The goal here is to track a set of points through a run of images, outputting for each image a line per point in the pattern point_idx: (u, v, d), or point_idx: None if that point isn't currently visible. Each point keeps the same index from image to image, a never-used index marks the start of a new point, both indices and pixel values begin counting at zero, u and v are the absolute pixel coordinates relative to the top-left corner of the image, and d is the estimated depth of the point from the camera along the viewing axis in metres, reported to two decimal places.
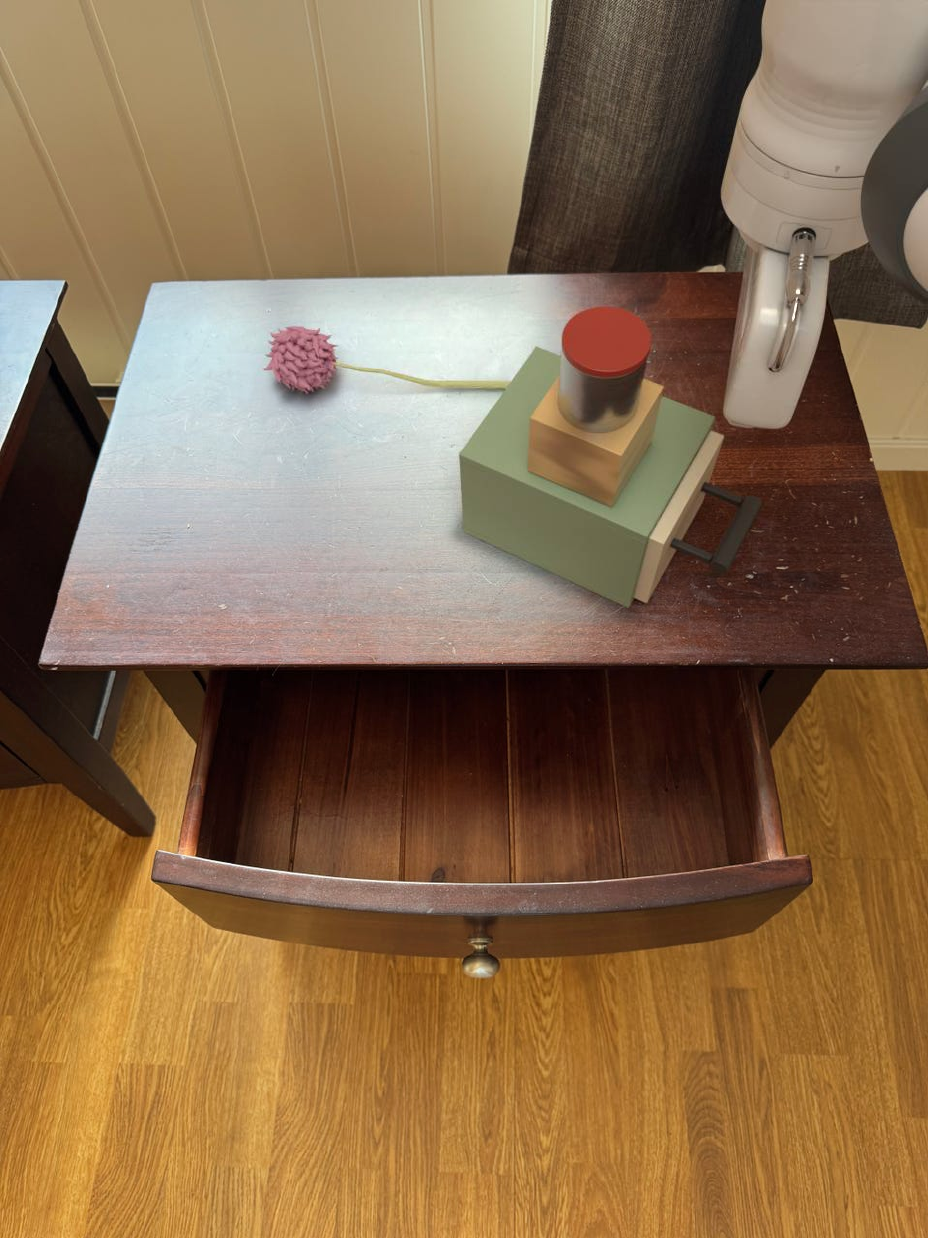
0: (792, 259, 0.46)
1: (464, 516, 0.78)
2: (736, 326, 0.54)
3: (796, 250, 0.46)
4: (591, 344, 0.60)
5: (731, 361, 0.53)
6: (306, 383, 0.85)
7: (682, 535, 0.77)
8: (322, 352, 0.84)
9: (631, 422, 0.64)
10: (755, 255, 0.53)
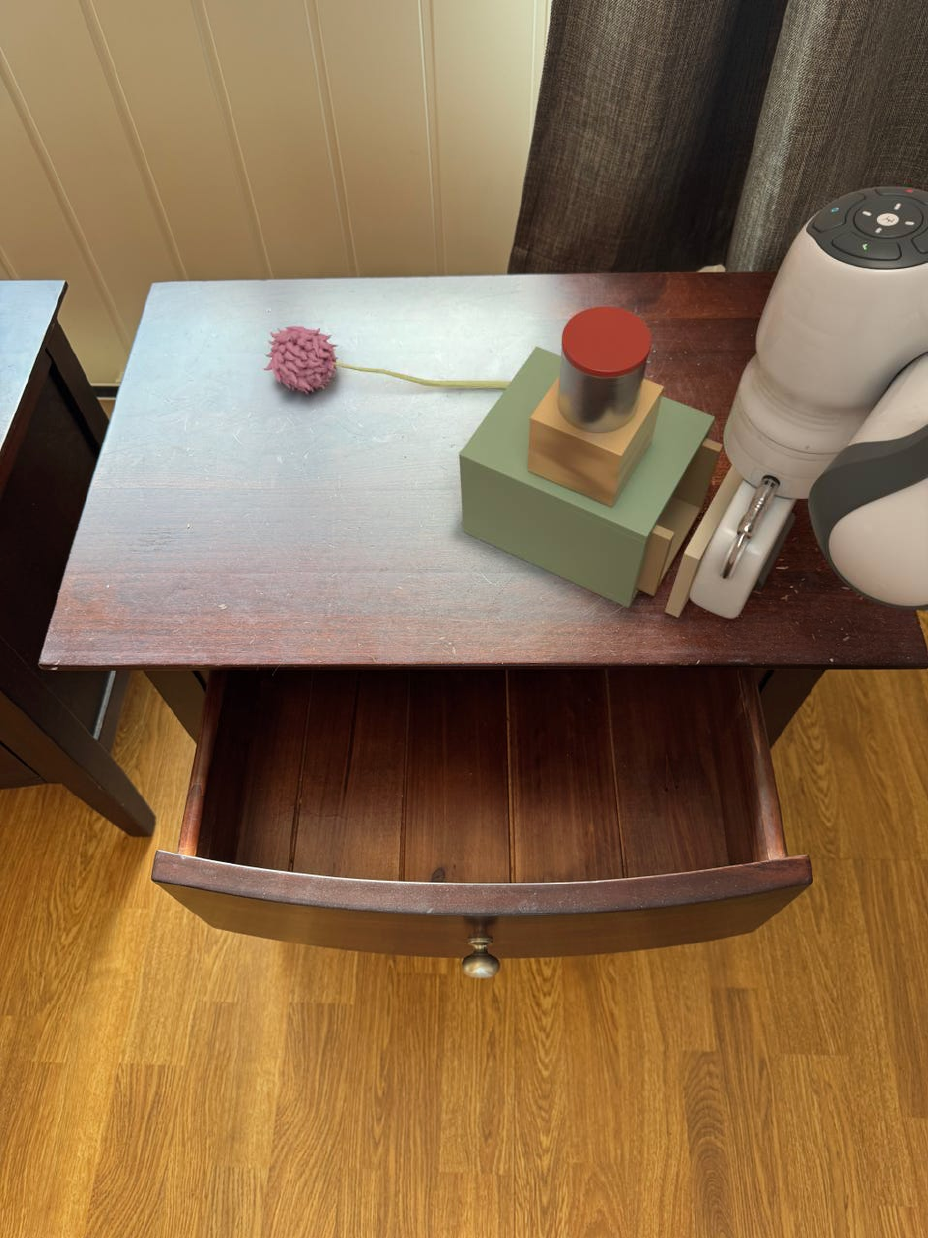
0: (752, 499, 0.58)
1: (464, 516, 0.78)
2: None
3: (758, 493, 0.58)
4: (591, 344, 0.60)
5: None
6: (306, 383, 0.85)
7: None
8: (322, 352, 0.84)
9: (631, 422, 0.64)
10: None
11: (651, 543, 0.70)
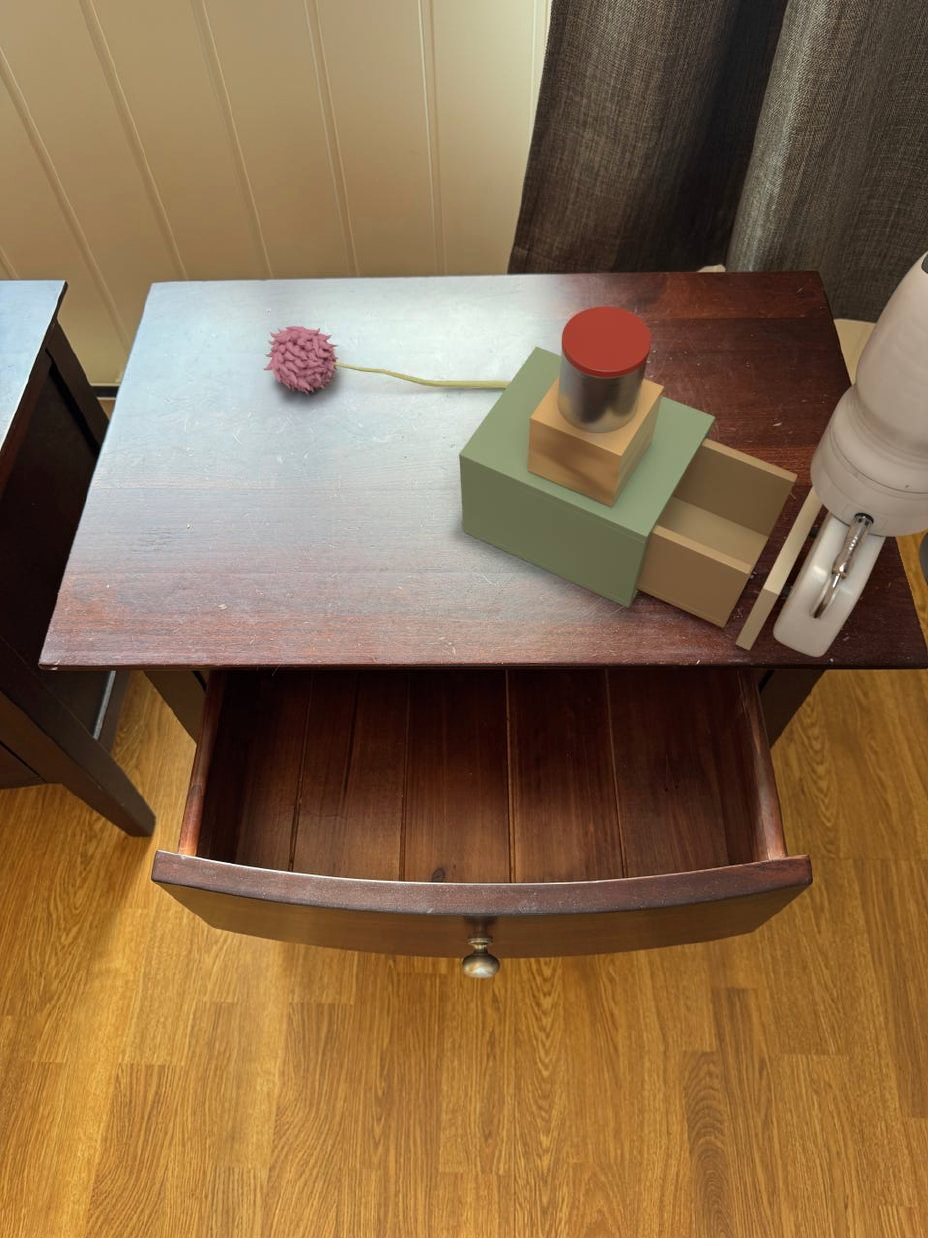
0: (846, 538, 0.56)
1: (464, 516, 0.78)
2: (806, 558, 0.65)
3: (852, 531, 0.56)
4: (591, 344, 0.60)
5: (791, 589, 0.63)
6: (306, 383, 0.85)
7: None
8: (322, 352, 0.84)
9: (631, 422, 0.64)
10: None
11: (727, 576, 0.68)
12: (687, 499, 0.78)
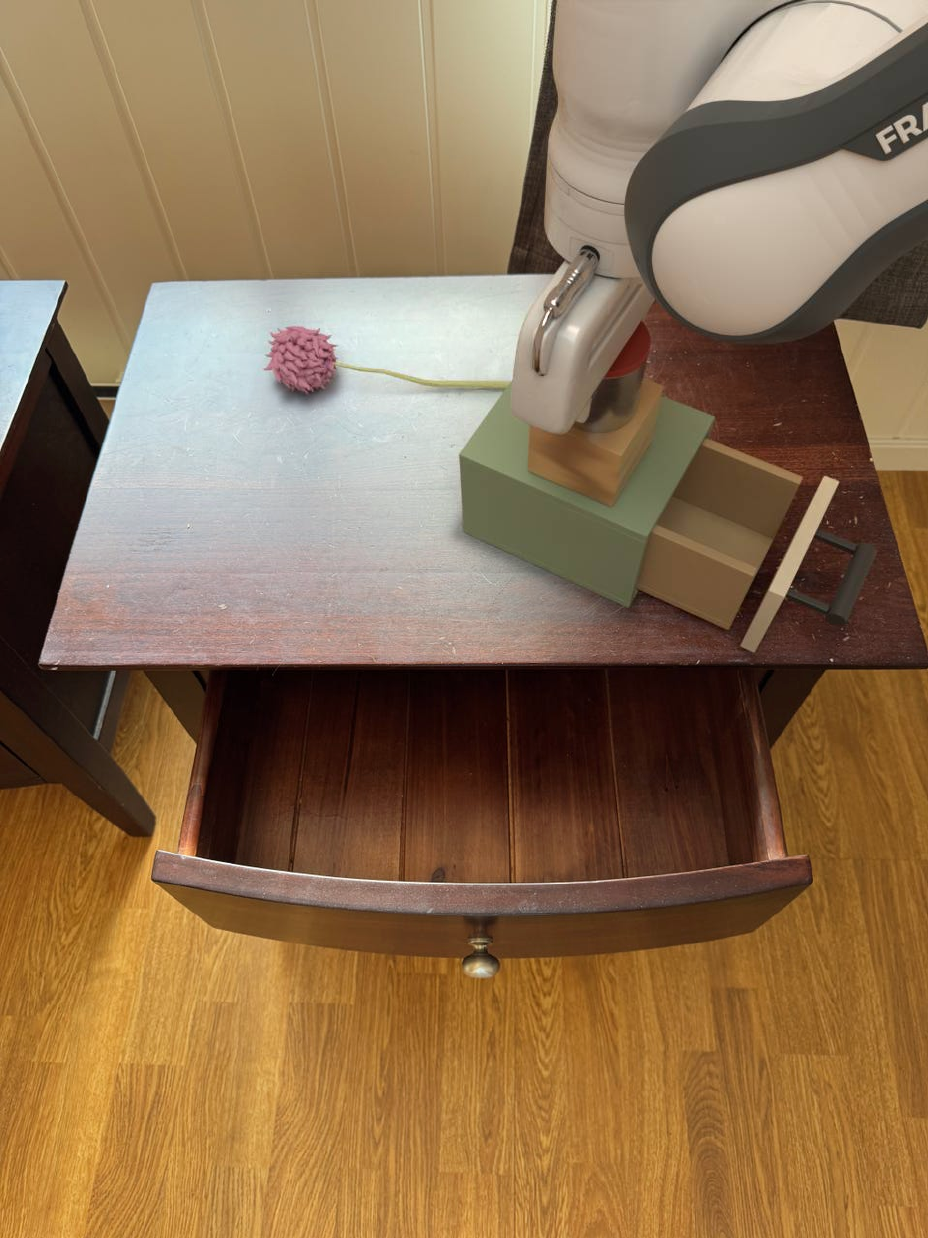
0: (565, 272, 0.49)
1: (464, 516, 0.78)
2: None
3: (572, 264, 0.49)
4: None
5: None
6: (306, 383, 0.85)
7: None
8: (322, 352, 0.84)
9: (631, 422, 0.64)
10: None
11: (732, 578, 0.68)
12: (692, 501, 0.78)
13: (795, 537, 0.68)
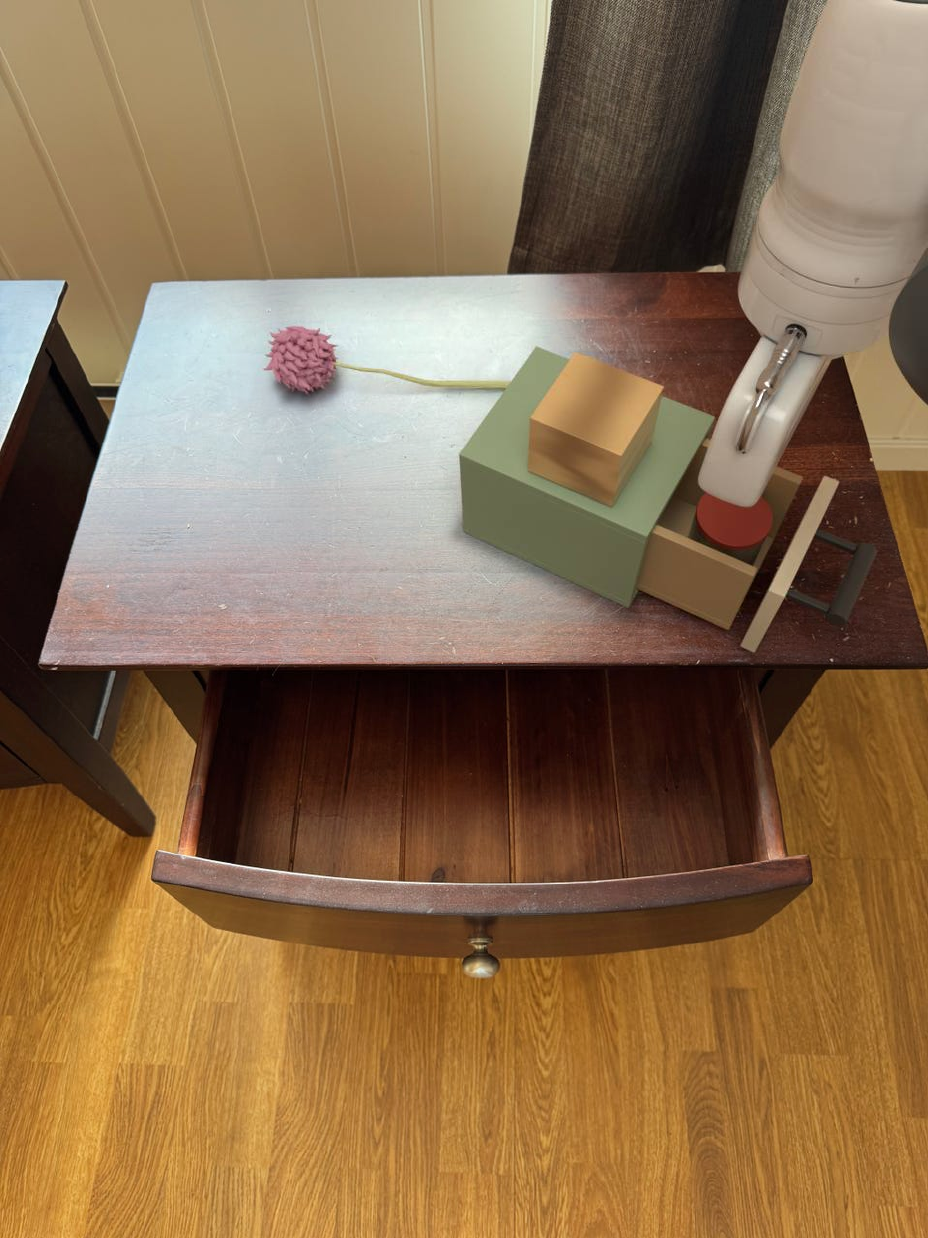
0: (774, 351, 0.48)
1: (464, 516, 0.78)
2: None
3: (781, 344, 0.48)
4: (722, 520, 0.71)
5: None
6: (306, 383, 0.85)
7: None
8: (322, 352, 0.84)
9: (631, 422, 0.64)
10: None
11: (732, 578, 0.68)
12: (692, 501, 0.78)
13: (795, 537, 0.68)
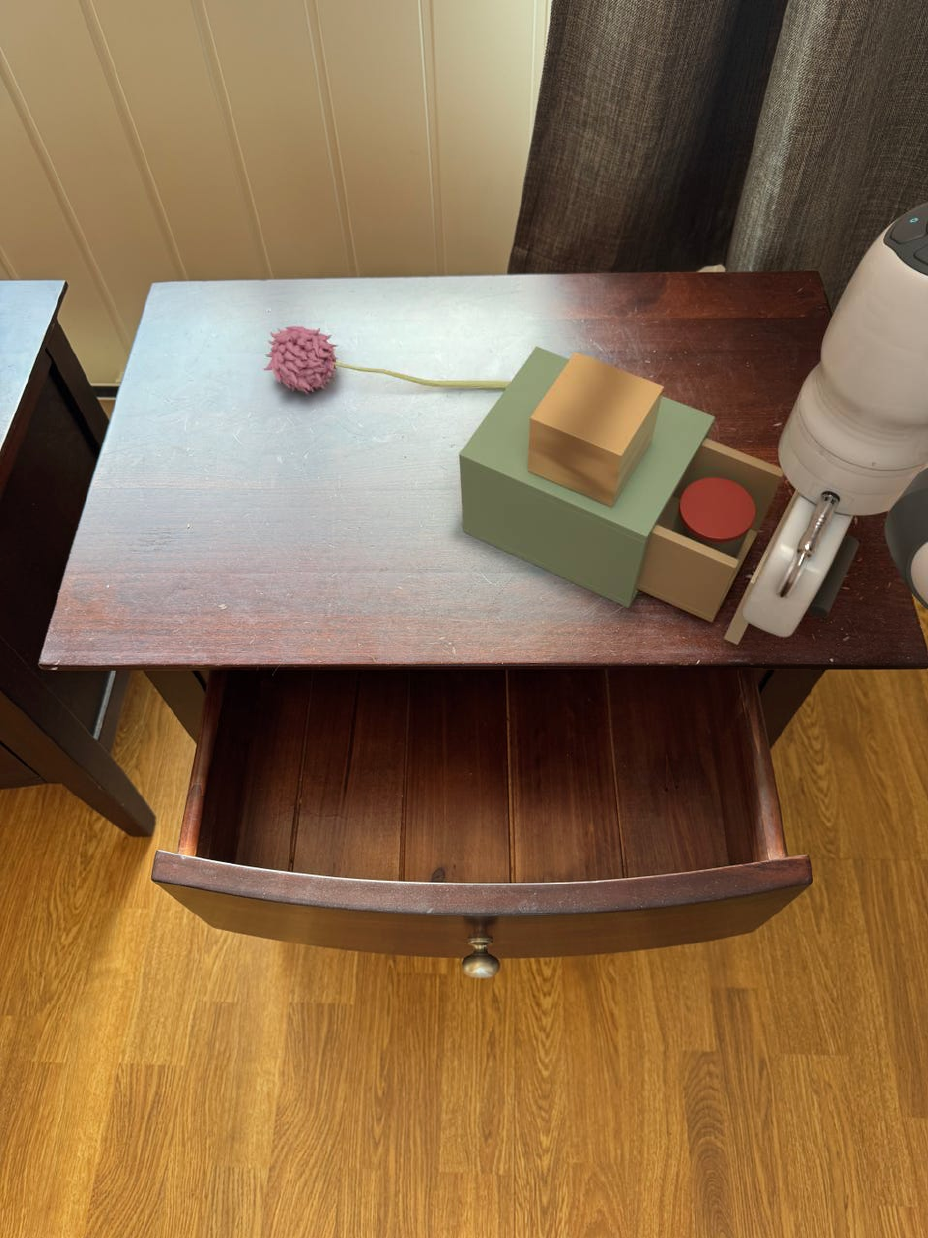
0: (812, 516, 0.56)
1: (464, 516, 0.78)
2: None
3: (818, 509, 0.56)
4: (705, 513, 0.71)
5: None
6: (306, 383, 0.85)
7: None
8: (322, 352, 0.84)
9: (631, 422, 0.64)
10: None
11: (715, 570, 0.68)
12: (676, 494, 0.79)
13: (777, 529, 0.68)
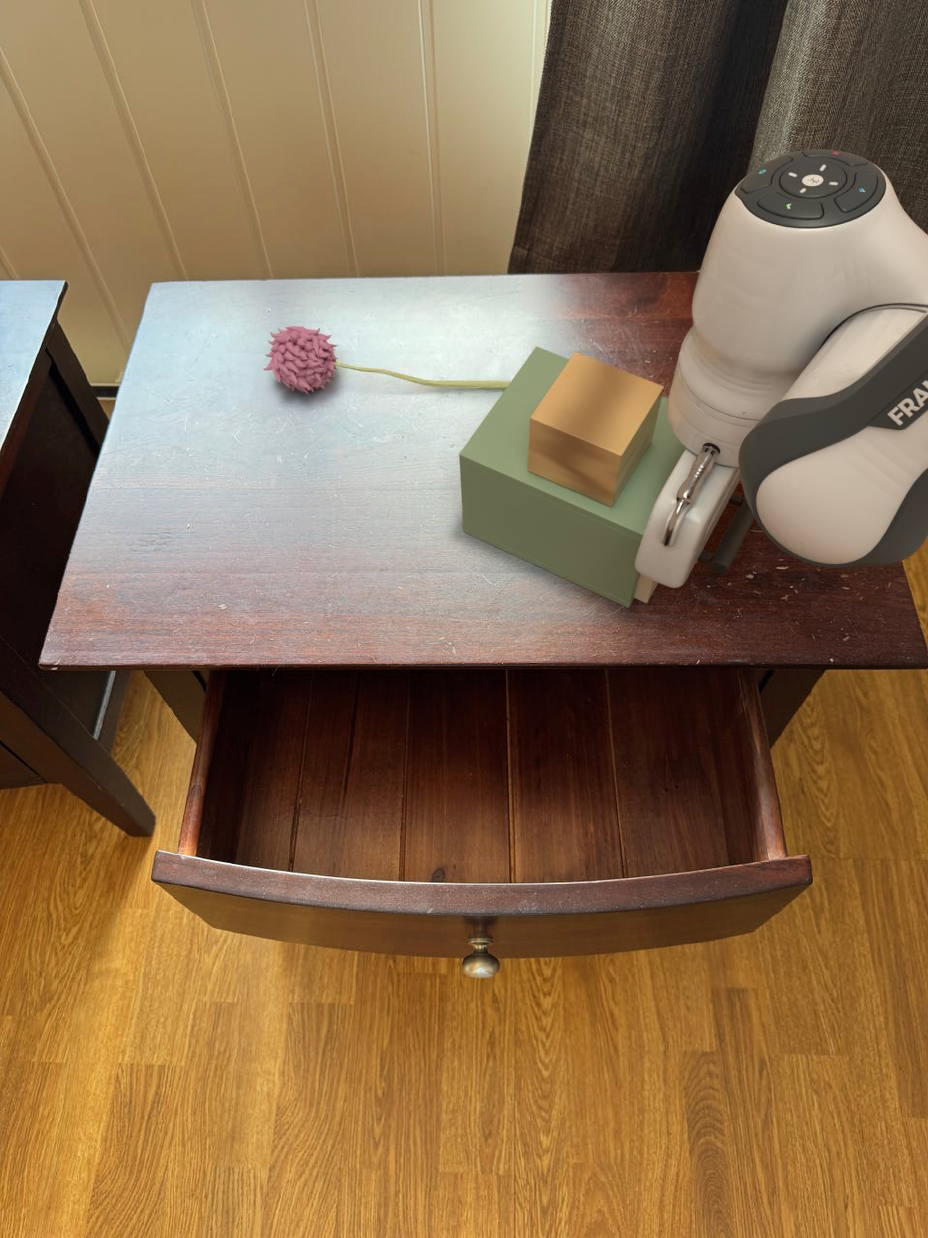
0: (692, 466, 0.58)
1: (464, 516, 0.78)
2: None
3: (698, 460, 0.58)
4: None
5: None
6: (306, 383, 0.85)
7: None
8: (322, 352, 0.84)
9: (631, 422, 0.64)
10: None
11: None
12: None
13: None
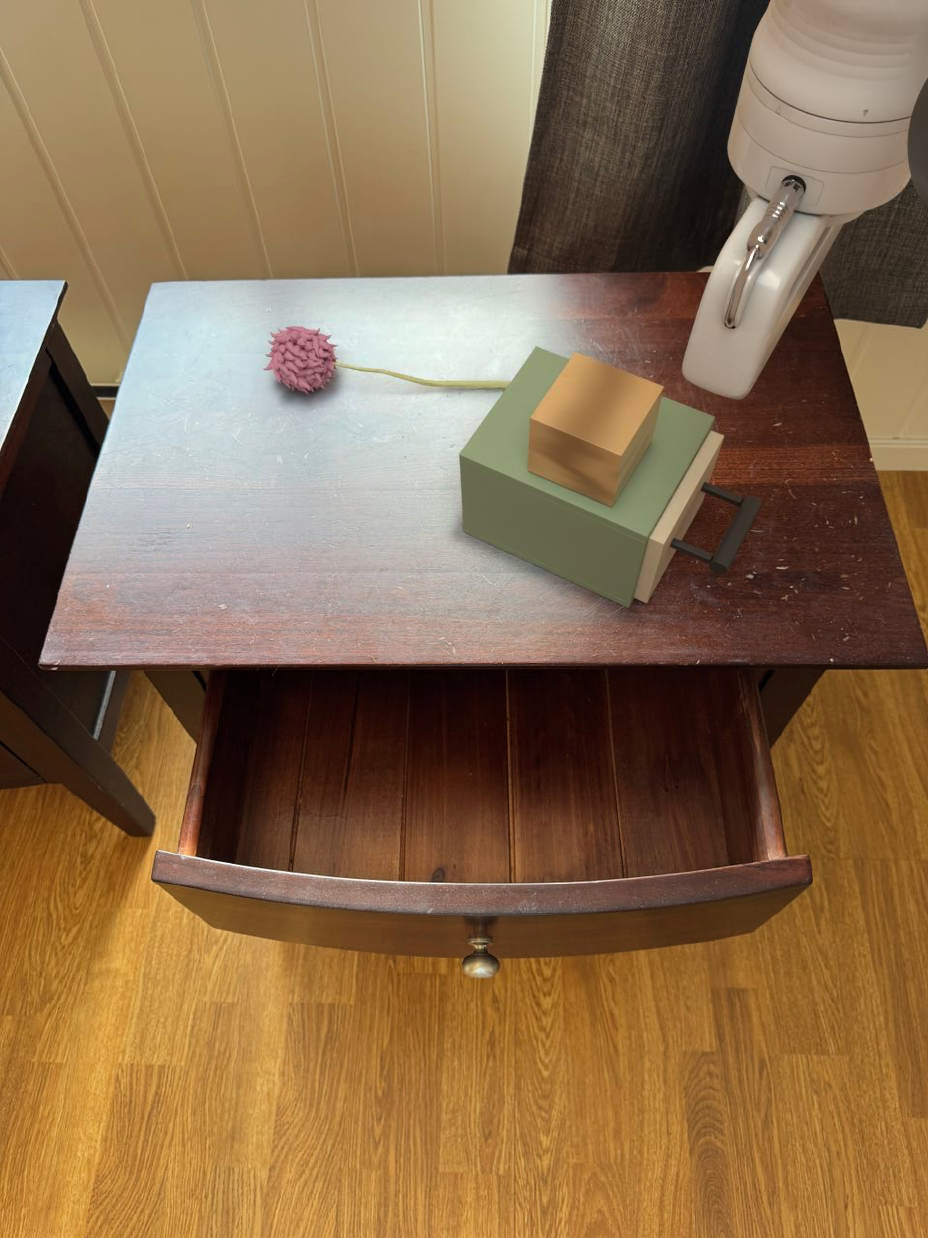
0: (768, 205, 0.42)
1: (464, 516, 0.78)
2: None
3: (776, 197, 0.42)
4: None
5: None
6: (306, 383, 0.85)
7: (682, 535, 0.77)
8: (322, 352, 0.84)
9: (631, 422, 0.64)
10: None
11: None
12: None
13: (678, 488, 0.70)
